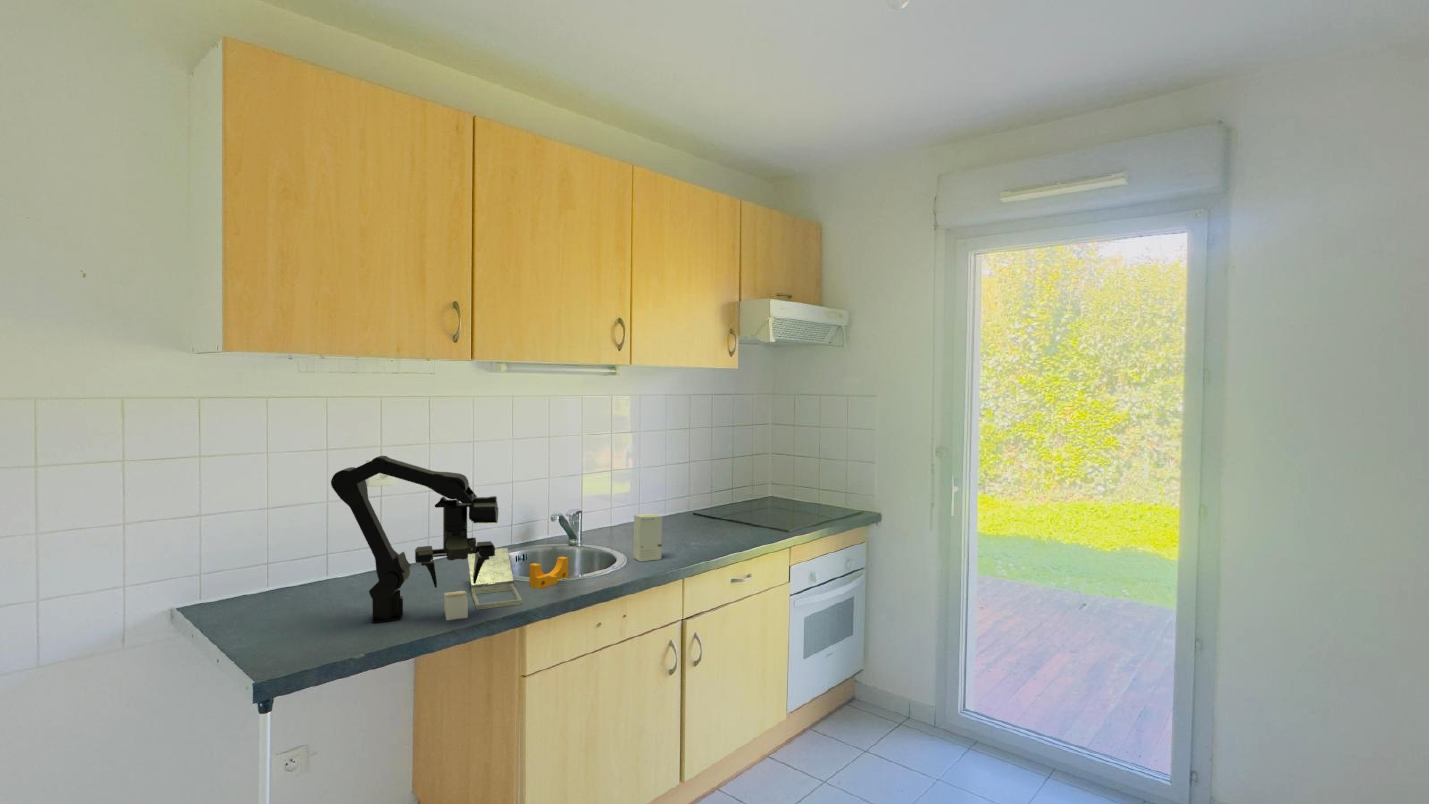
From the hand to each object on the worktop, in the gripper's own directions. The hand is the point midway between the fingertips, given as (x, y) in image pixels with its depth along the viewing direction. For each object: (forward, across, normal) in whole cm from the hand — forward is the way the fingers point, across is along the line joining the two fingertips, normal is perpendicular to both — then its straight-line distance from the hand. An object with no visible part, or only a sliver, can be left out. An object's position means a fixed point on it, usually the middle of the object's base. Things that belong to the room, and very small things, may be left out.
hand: (455, 585), depth 179 cm
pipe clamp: (+8, +28, +18) cm, 34 cm away
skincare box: (+7, +63, +34) cm, 72 cm away
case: (+7, +11, +15) cm, 20 cm away
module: (+8, 0, 0) cm, 8 cm away
